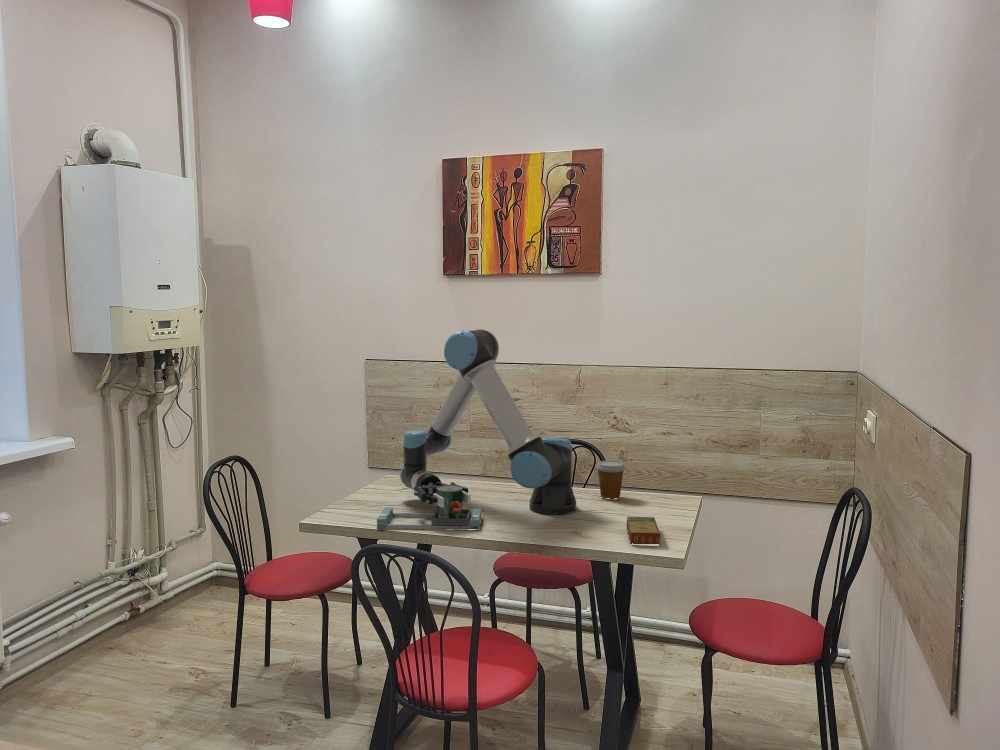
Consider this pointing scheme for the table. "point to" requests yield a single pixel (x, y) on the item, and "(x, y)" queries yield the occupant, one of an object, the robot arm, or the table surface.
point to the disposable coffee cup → (610, 478)
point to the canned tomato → (450, 502)
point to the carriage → (451, 521)
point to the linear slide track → (388, 511)
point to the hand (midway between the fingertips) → (456, 501)
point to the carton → (643, 530)
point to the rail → (422, 515)
